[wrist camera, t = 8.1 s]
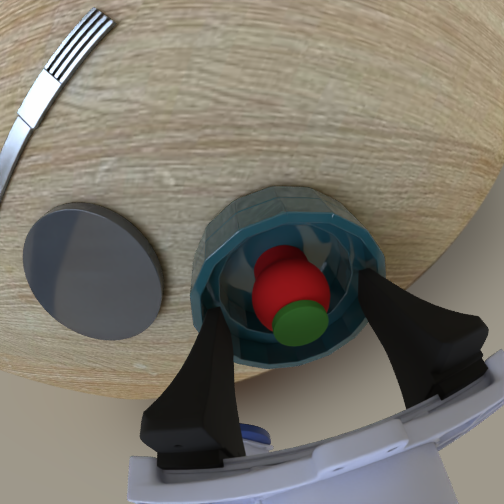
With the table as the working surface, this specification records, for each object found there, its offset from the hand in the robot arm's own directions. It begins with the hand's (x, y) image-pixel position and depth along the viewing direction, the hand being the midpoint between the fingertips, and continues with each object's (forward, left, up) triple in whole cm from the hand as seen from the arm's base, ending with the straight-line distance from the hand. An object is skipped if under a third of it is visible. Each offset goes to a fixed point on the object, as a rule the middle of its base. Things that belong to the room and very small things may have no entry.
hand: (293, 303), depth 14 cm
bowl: (0, 0, -4) cm, 4 cm away
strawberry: (0, 0, -3) cm, 3 cm away
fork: (+17, +5, -4) cm, 18 cm away
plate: (+8, +9, -4) cm, 13 cm away
